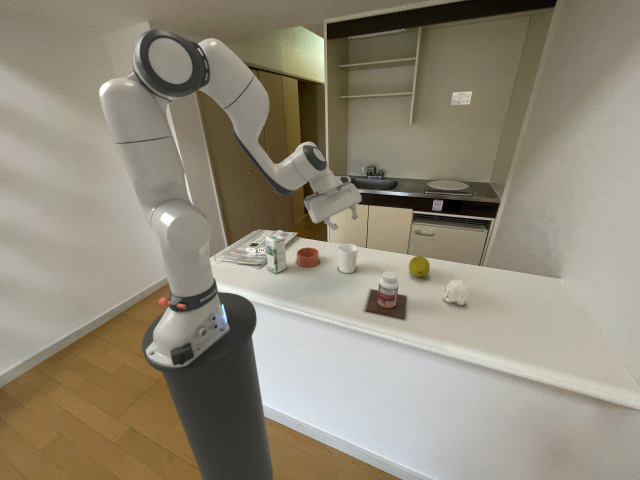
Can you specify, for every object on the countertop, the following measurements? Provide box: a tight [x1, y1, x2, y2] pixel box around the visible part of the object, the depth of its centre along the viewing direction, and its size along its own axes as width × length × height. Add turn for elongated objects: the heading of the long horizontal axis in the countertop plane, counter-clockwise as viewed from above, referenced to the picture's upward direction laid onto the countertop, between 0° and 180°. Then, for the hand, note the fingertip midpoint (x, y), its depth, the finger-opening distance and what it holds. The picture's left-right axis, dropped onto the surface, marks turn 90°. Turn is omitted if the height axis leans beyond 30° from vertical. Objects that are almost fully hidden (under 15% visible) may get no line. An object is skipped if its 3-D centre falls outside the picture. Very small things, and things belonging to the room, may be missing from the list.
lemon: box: [408, 255, 431, 278], centre depth 101 cm, size 11×8×8 cm
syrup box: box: [265, 234, 287, 274], centre depth 105 cm, size 6×6×14 cm
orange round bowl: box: [296, 247, 320, 268], centre depth 113 cm, size 9×10×4 cm
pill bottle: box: [378, 270, 400, 308], centre depth 84 cm, size 6×6×11 cm
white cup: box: [337, 243, 359, 274], centre depth 105 cm, size 8×8×10 cm
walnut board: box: [365, 288, 407, 320], centre depth 87 cm, size 12×12×1 cm
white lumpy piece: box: [444, 278, 470, 306], centre depth 88 cm, size 6×8×12 cm
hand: (346, 224), depth 86 cm, fingers open, 8 cm apart
